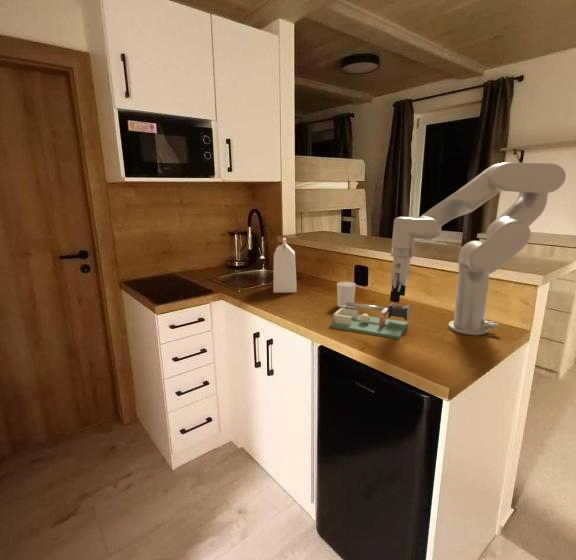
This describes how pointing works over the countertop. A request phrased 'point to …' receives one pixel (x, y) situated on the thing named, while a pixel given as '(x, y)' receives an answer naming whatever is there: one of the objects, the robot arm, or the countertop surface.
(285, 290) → the milk
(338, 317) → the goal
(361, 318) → the ball
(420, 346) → the countertop surface
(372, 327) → the board
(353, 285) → the white cup
